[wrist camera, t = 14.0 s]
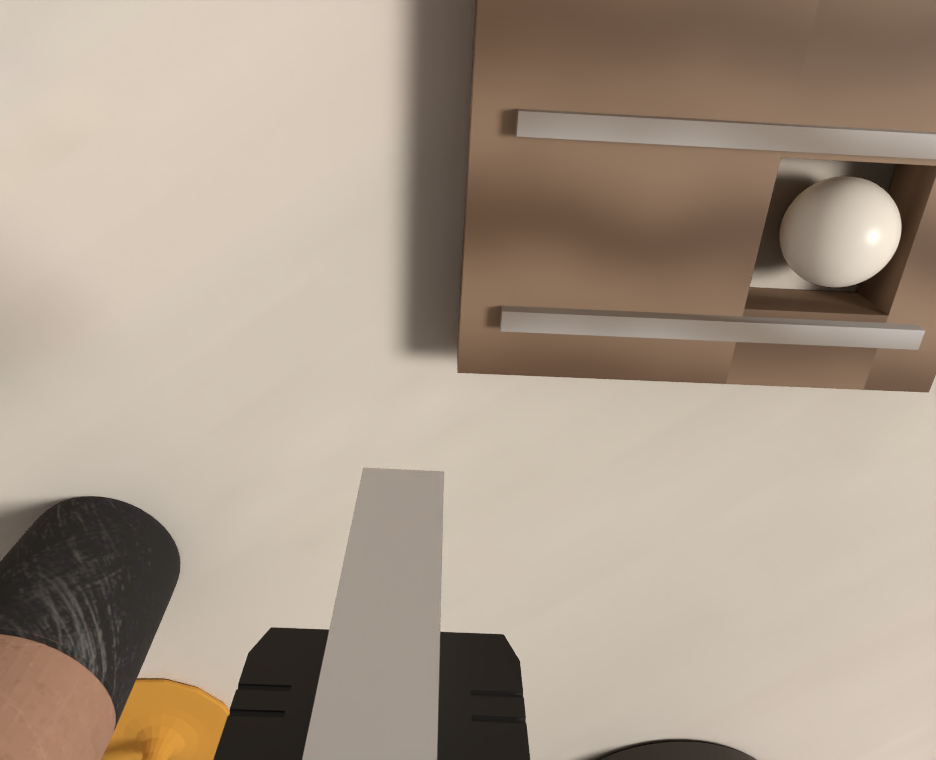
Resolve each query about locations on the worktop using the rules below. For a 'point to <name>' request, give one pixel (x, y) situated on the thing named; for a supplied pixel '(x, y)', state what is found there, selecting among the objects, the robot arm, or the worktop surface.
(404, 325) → the worktop surface
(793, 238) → the cream ball
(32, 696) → the travel mug
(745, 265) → the hole deck
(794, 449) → the worktop surface
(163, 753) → the cup
